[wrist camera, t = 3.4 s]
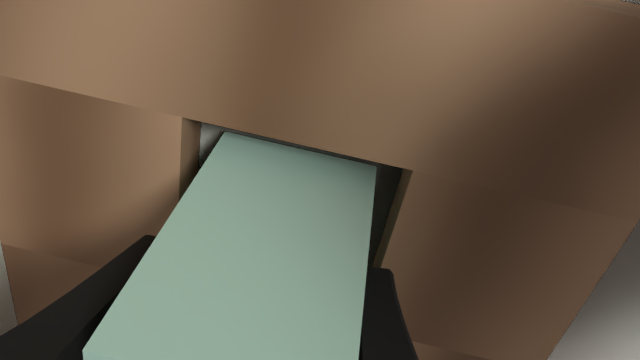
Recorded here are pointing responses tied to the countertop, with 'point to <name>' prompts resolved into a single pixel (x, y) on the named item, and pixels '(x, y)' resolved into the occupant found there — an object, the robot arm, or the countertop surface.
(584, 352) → the countertop surface
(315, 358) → the green block
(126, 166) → the pocket tray
